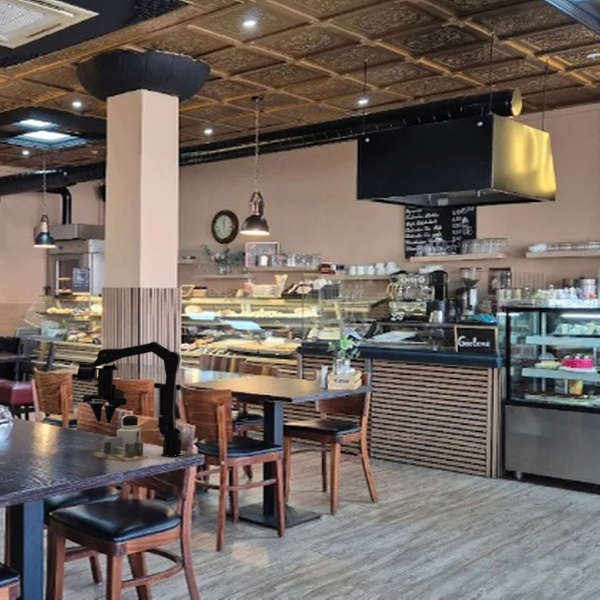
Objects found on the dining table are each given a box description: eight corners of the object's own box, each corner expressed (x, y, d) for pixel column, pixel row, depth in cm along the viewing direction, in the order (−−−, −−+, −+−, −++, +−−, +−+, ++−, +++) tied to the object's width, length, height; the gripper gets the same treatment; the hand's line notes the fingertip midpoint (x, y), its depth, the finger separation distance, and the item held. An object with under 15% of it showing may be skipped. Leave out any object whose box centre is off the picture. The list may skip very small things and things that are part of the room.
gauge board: (148, 458, 298) (148, 442, 298) (126, 461, 289) (126, 445, 289) (111, 451, 309) (112, 436, 309) (89, 455, 300) (90, 439, 300)
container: (140, 447, 322) (141, 415, 323) (134, 450, 315) (136, 417, 315) (122, 446, 323) (123, 414, 323) (115, 449, 315) (117, 416, 316)
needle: (110, 453, 296) (110, 442, 296) (107, 453, 294) (107, 442, 294) (107, 452, 297) (107, 441, 297) (104, 453, 295) (104, 442, 295)
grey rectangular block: (133, 453, 300) (133, 438, 300) (114, 456, 292) (114, 441, 292) (119, 451, 304) (119, 436, 304) (99, 454, 296) (100, 439, 297)
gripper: (137, 382, 306) (136, 422, 306) (105, 379, 317) (103, 418, 316) (115, 383, 297) (114, 425, 296) (82, 380, 308) (81, 420, 307)
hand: (103, 422), depth 304 cm, fingers open, 5 cm apart
